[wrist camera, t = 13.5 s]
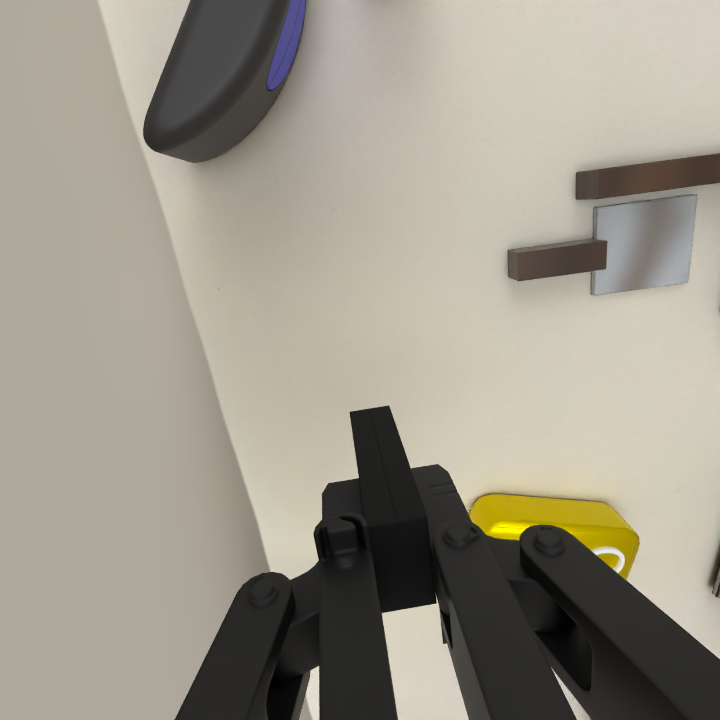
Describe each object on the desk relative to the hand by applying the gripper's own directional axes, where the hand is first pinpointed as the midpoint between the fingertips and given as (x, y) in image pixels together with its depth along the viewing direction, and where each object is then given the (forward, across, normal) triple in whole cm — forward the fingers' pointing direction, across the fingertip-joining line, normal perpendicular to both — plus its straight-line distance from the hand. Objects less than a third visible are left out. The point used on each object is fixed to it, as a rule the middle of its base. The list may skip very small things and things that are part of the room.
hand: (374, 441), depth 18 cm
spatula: (+22, +22, +2) cm, 31 cm away
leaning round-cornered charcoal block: (+22, -4, +19) cm, 30 cm away
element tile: (+22, +15, -28) cm, 39 cm away
